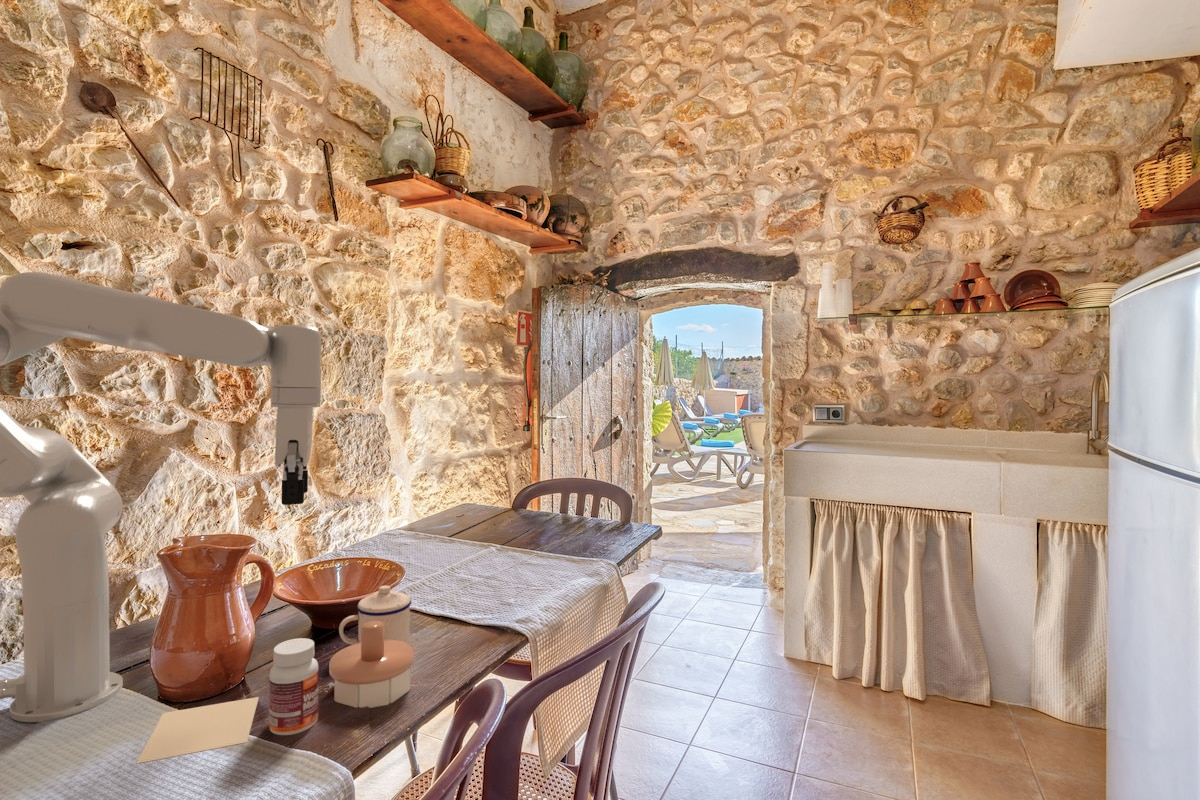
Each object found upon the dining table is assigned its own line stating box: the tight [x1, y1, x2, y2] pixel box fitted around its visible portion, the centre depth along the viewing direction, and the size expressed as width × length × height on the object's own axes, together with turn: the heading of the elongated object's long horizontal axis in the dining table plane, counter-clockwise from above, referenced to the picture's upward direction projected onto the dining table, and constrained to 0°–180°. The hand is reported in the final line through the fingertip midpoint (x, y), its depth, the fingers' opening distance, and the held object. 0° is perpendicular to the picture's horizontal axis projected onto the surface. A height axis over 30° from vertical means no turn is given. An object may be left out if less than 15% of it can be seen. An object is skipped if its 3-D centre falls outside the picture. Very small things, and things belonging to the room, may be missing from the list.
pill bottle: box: [268, 637, 320, 736], centre depth 83 cm, size 6×6×11 cm
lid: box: [328, 621, 415, 685], centre depth 93 cm, size 12×12×6 cm
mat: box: [136, 696, 260, 765], centre depth 82 cm, size 12×12×1 cm
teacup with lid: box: [338, 585, 412, 645], centre depth 105 cm, size 12×9×12 cm
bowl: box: [333, 666, 412, 709], centre depth 93 cm, size 11×11×4 cm
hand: (295, 498), depth 101 cm, fingers open, 9 cm apart
